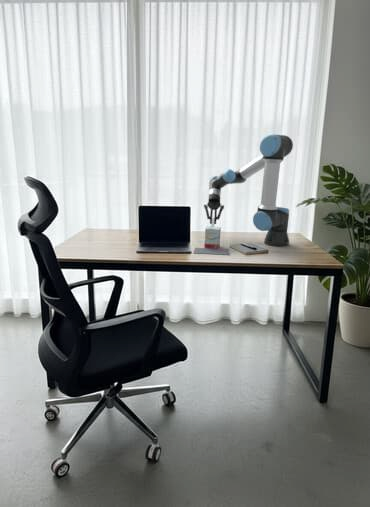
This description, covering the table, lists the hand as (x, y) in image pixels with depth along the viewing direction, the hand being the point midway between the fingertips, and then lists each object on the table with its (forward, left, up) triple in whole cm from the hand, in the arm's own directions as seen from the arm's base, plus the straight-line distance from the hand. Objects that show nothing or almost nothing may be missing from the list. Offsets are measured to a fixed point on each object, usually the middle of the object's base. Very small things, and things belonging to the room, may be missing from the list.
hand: (212, 227), depth 225 cm
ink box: (0, +7, -10) cm, 13 cm away
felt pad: (0, +18, -10) cm, 21 cm away
